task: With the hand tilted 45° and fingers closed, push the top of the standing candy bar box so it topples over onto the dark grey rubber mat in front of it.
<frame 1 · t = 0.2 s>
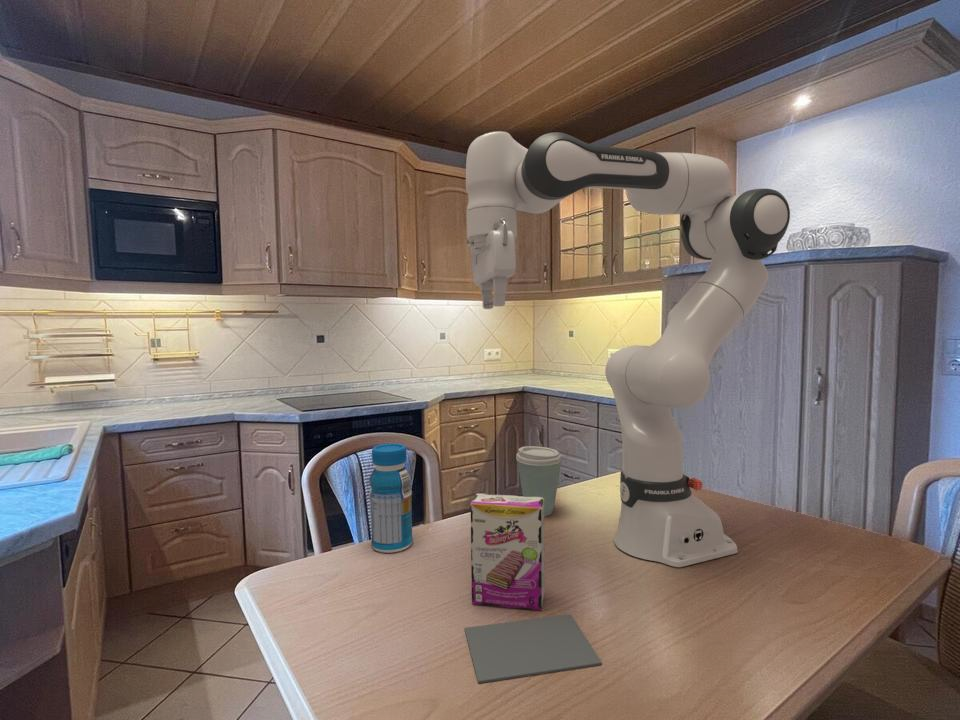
hand: (493, 307, 88), 47 cm above the table, tool pointing down, fingers open, 8 cm apart
mat: (529, 646, 67), on the table
beverage bottle: (392, 545, 99), on the table
candy bar box: (508, 602, 78), on the table
disposable coffee cup: (539, 513, 115), on the table
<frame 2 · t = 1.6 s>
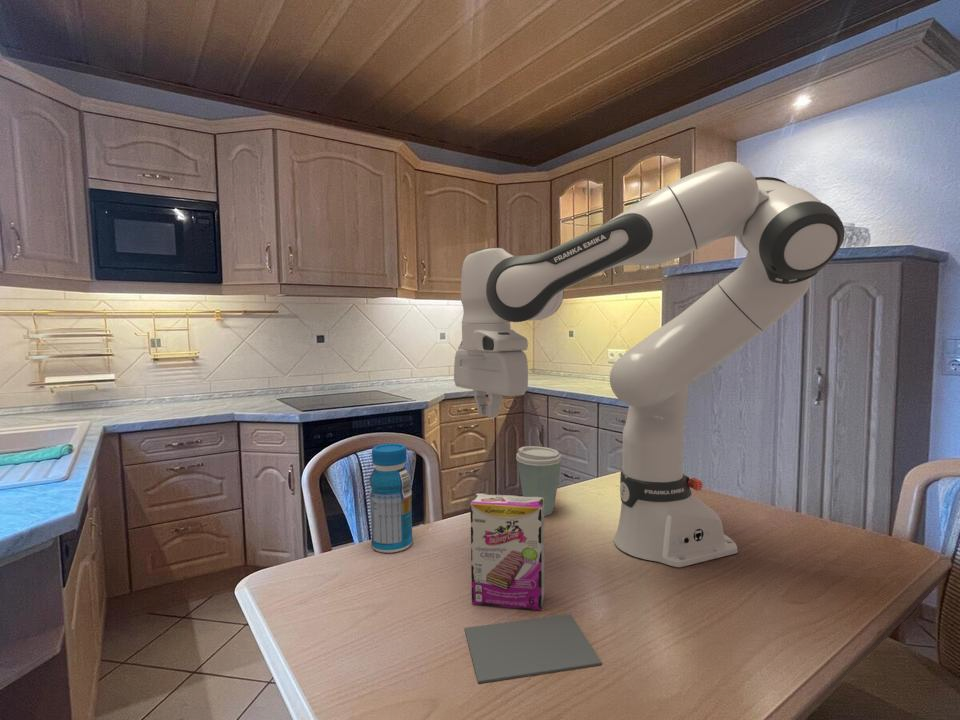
hand: (488, 415, 90), 27 cm above the table, tool pointing down, fingers closed
nothing on the table moved.
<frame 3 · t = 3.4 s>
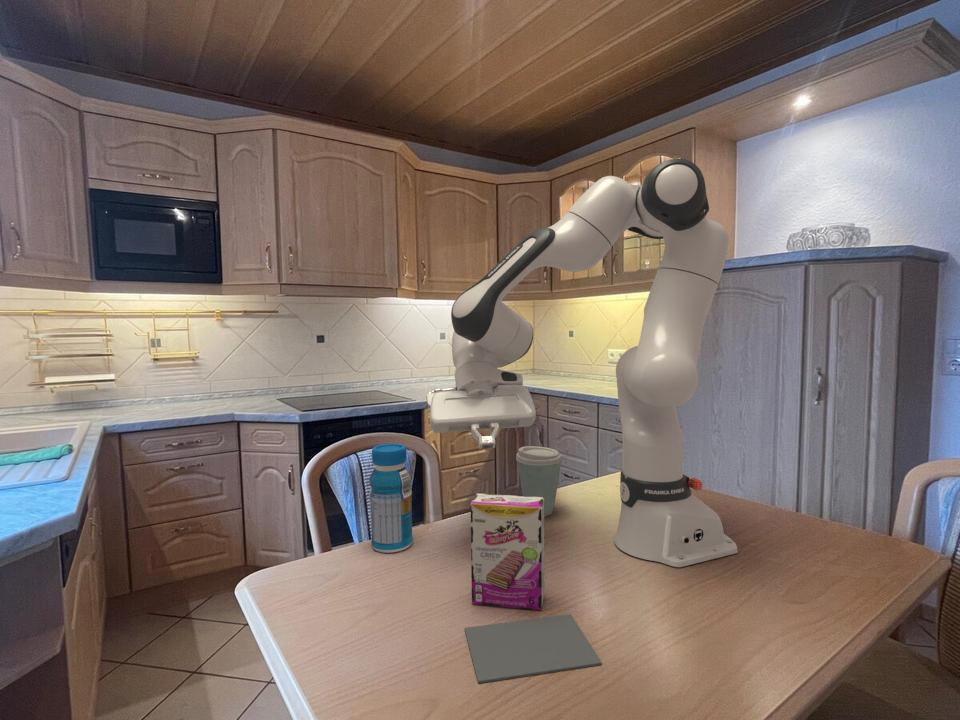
hand: (487, 447, 90), 21 cm above the table, tool tilted 45°, fingers closed
nothing on the table moved.
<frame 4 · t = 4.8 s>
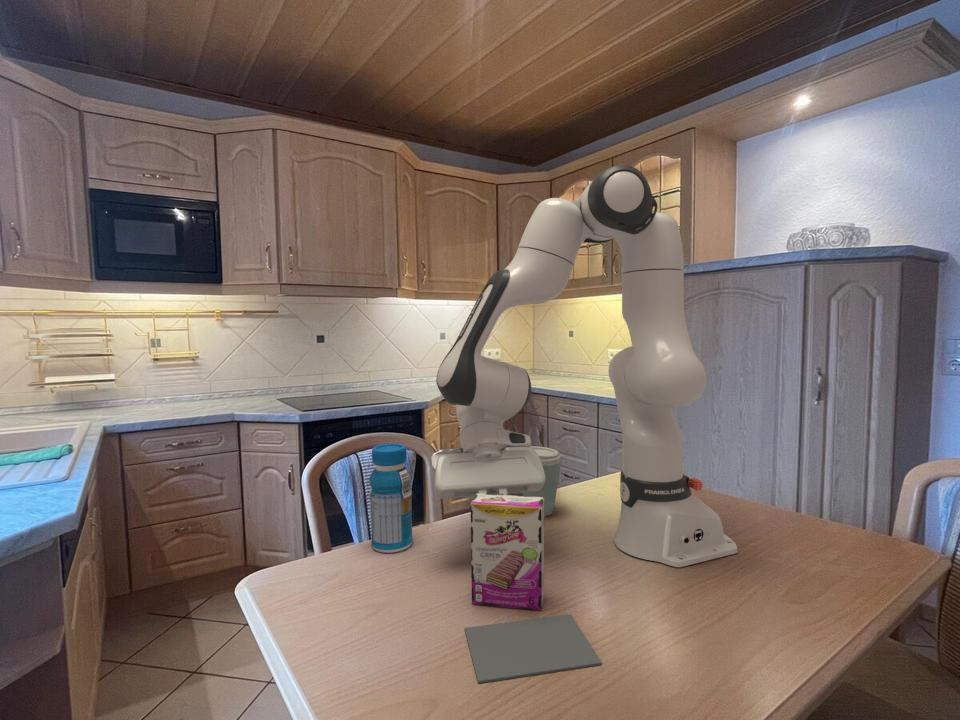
hand: (495, 515, 85), 11 cm above the table, tool tilted 45°, fingers closed
nothing on the table moved.
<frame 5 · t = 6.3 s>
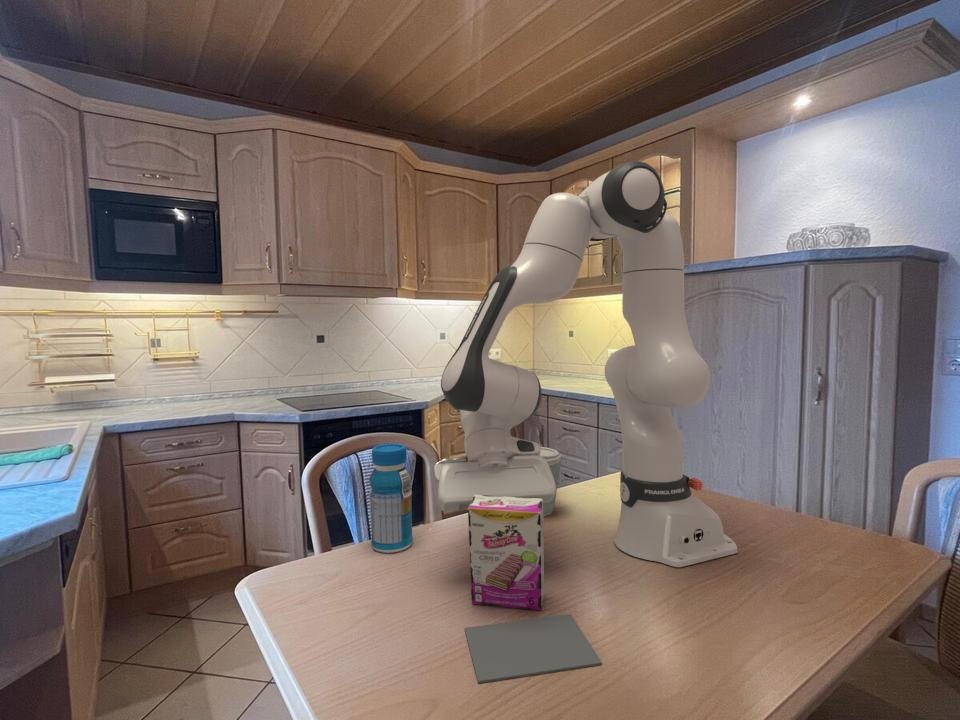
hand: (503, 530, 80), 10 cm above the table, tool tilted 45°, fingers closed
candy bar box: (508, 600, 78), on the table, touching gripper
everything else where it was.
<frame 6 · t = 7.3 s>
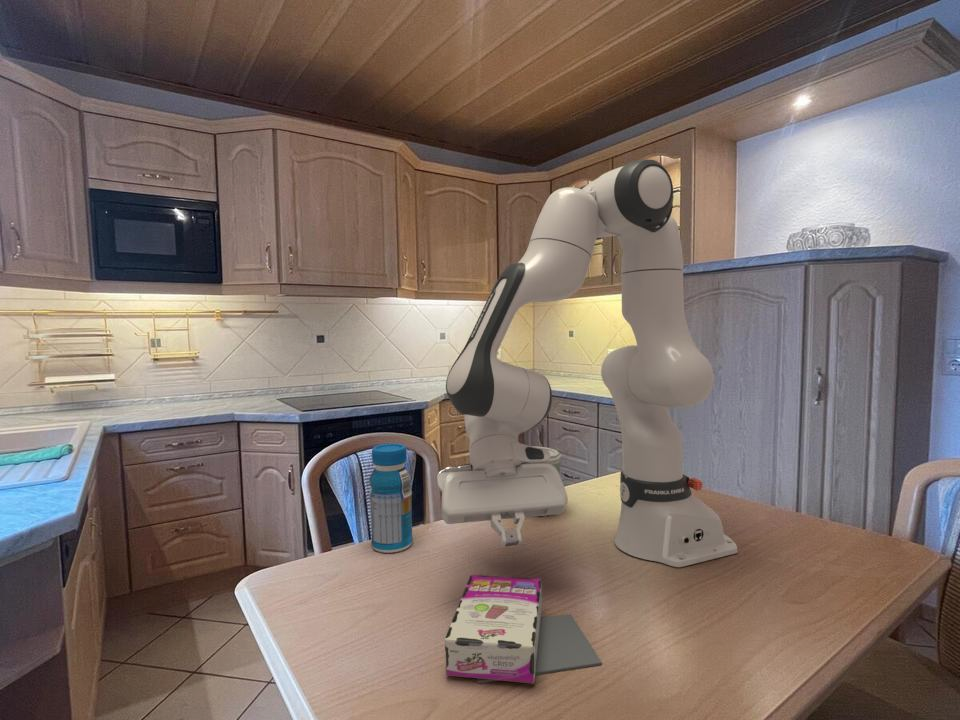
hand: (511, 544, 74), 10 cm above the table, tool tilted 45°, fingers closed
candy bar box: (506, 591, 76), point 3 cm above the table, touching mat
everything else where it was.
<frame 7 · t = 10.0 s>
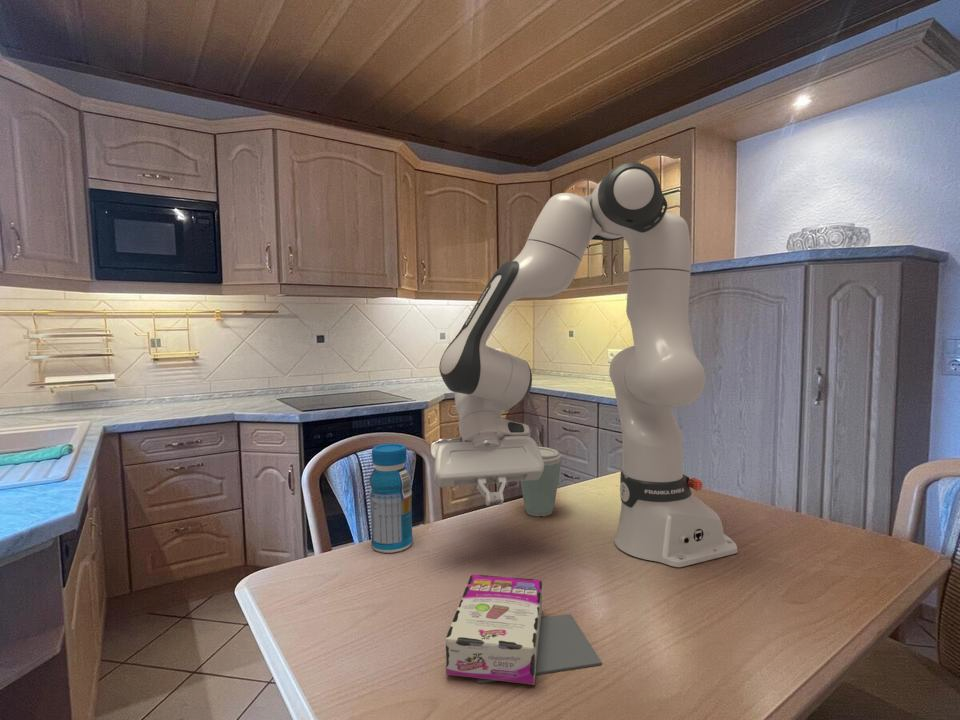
hand: (495, 503, 86), 12 cm above the table, tool tilted 45°, fingers closed
nothing on the table moved.
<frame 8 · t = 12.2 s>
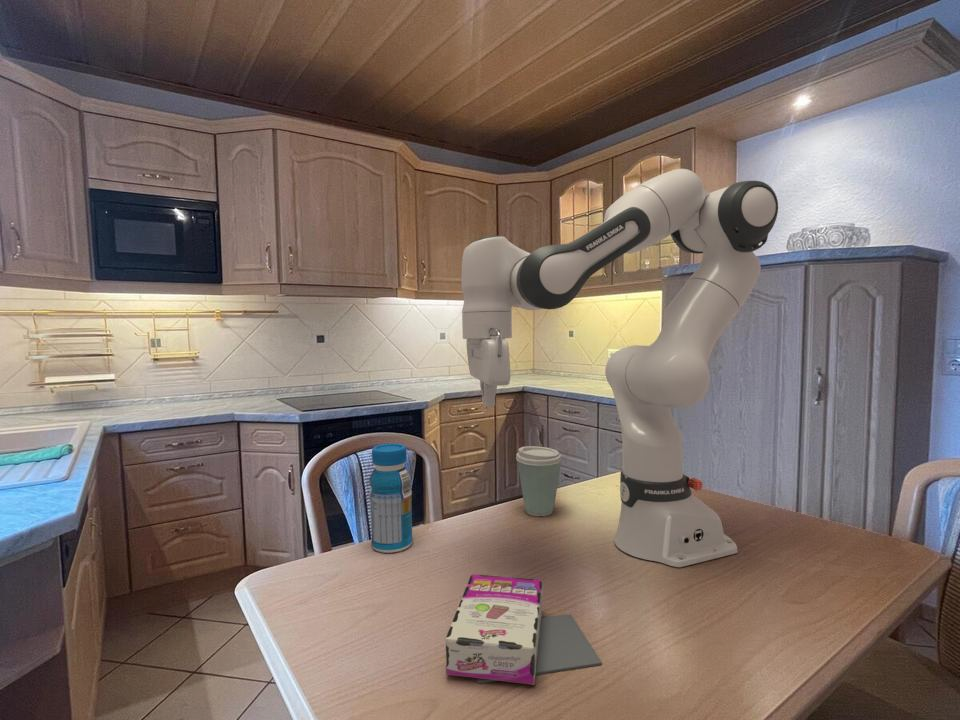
hand: (488, 405, 89), 29 cm above the table, tool pointing down, fingers closed
nothing on the table moved.
at the end: candy bar box tilted 89°; candy bar box inside the target area (8.0 cm from its centre), point 2.7 cm above the table; candy bar box moved 3.4 cm from its start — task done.
